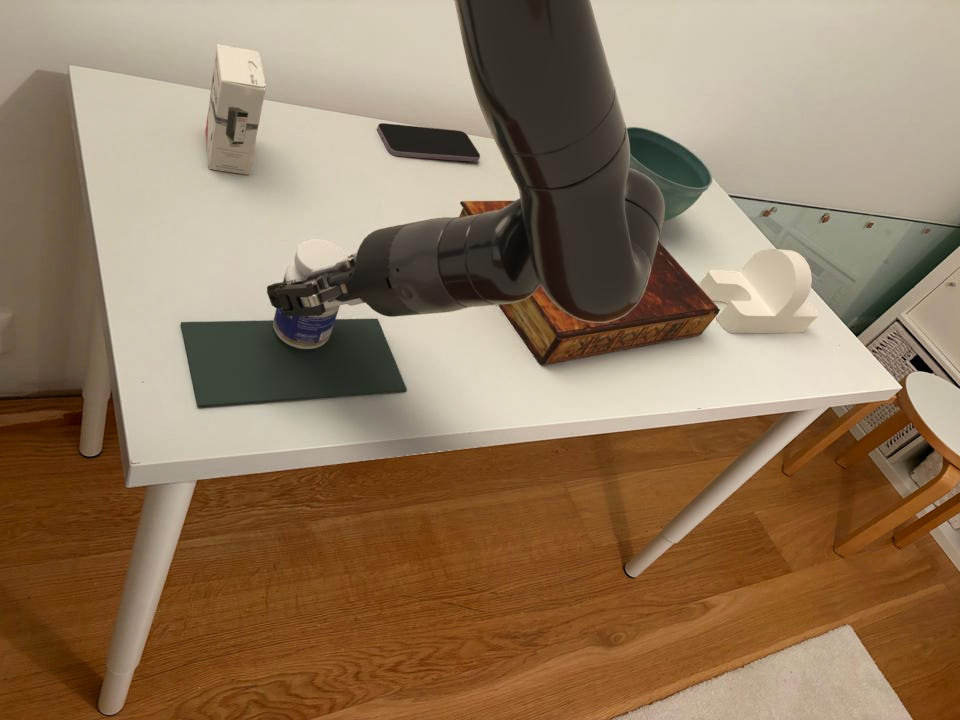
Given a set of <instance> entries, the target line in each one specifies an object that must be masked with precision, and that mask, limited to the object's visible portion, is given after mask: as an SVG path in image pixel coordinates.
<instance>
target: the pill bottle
mask: <svg viewBox="0 0 960 720" xmlns="http://www.w3.org/2000/svg"><path fill="white" fill-rule="evenodd" d="M347 258H348V256H347V254H346V252H345V251H344V250H343V249H342V248H341V247H340V246H338V245H337V244H335V243H333V242H331V241H328V240H324V239H320V238H312V239H307V240H305V241H302V242H301V243H300V244H299V245H298V246H297V248H296V252H295V255H294V259H293V261H291V262H290V263H289V264H288V266H287V267H286V269H285V273H284V276H283V280H282V282H288V281H290V280H293V279H296V280H297V279H302V278H306V277H307V275H308V274H309V273H310V272H312V271H314V270H315V269H319V268H323V267H327V266H331V265H335V264H336V263H338V262H340V261H341V260H343V259H347ZM327 276H328V274H326V275H323V281H324V284H325V287H326V288H327V287H329V286H328V283H327ZM340 307H341V305H340V306H335V307H331V308H327V309H326V312H325V313H323V314H322V315H320V316H317V315H316V316H285V315H284V313H283V308H275V313H274V317H273V320H274V321H273V327H274V330H275V332H276V334H277V335H278V337H279V338H280V339H281V340H282V341H284V342H285V343H287V344H288V345H290V346H293V347H296V348H300V349H313V348H317V347H320V346H322V345H323V344H324V343H326V342H327V340H328V339H329V337H330V335H331V332H332V329H333V326H334V323H335V319H337V316H338V313H339V310H340Z"/></svg>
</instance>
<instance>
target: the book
mask: <svg viewBox="0 0 960 720" xmlns="http://www.w3.org/2000/svg"><path fill="white" fill-rule="evenodd" d="M514 201H515V200H461V201H460V202H459V205H460V206H461V207H462V209H461V211H460V214H459V216H458V217H463V216H468V215H473V214H478V213H484V212H488V211H495V210H500V209H502V208H504V207H506V206H507V205H509V204H511V203H512V202H514ZM698 285H699V283H697V282H696V280H694V279H693V278H692V276H690V275H689V273H688V272H687V271H686V270H685V269H684V267H682V266H681V264H680V263H679V262H678V261H677V260H676V258H675V257H673V255H672V254H671V253H670V251H668V250H667V249H666V247H664V245H663V244H662V243H661V242H660V241H659V240H658V245H657V249H656V252H655V256H654V260H653V264H652V268H651V272H650V276H649V280H648V284H647V287H646V290H645V292H644V294H643V297H642V298H641V300H640V302H639V303H638V304H637V306H636V307H635V308H634V309H633V310H632V311H630V312H629V313H628V314H626V315H625V316H623V317H621V318H619V319H617V320H614V321H610V322H606V323H592V322H586V321H582V320H579V319H576V318H574V317H572V316H570V315H568V314H567V313H565V312H564V311H562V310H561V309H560V308H558V307H557V306H556V305H555V304H554V303H553V302H552V301H551V300H550V299H549V298H548V296H547V295H546V294H545V292H544V290H543V289H542V287H541V286H540V287H539V289H538V290H537V291H536V292H535V293H534V294H533V295H532V296H531V297H529V298H528V299H526V300H524V301H520V302H516V303H510V304H501V305H498V307H499V308H500V309H501V311H502V313H503V314H504V315H505V317H506V318H507V319H508V321H509V322H510V324H511V325H512V327H513V328H514V329H515V331H516V332H517V334H518V336H519V337H520V338H521V339H522V341H523V342H524V344H525V345H526V347H527V349H528V350H529V351H530V353H531V354H532V356H533V357H534V359H535V360H536V362H537V363H539V366H544V365H549V364H553V363H559V362H565V361H569V360H575V359H580V358H586V357H590V356H596V355H602V354H607V353H613V352H617V351H624V350H628V349H633V348H634V349H635V348H638V347H643V346H650V345H653V344H660V343H666V342H671V341H675V340H681V339H685V338H691V337H696V336H700V335H702V334H703V332H704V331H705V330H706V329H707V328H708V327H709V325H710V324H711V323H712V322H713V320H714V319H716V318H717V316H718V315H719V314H720V311H721V309H720V308H719V306H718V305H716V303H715V301H712V300H711V299H710V298H709V297H708V296H707V294H706V293H705V292H704V291H703V290H702V289H701V288H700V287H699V286H698Z"/></svg>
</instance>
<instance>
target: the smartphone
mask: <svg viewBox="0 0 960 720" xmlns="http://www.w3.org/2000/svg"><path fill="white" fill-rule="evenodd" d="M376 131H377V133H378V135H379V137H380V139H381V141H382V142H383V144H384V146H385V148H386V150H387V152H388V153H389V154H391V155H393V156H396V157H407V158H417V159H418V158H421V159H432V160H433V159H435V160H448V161H460V162H474V163H477V162H479V161H480V158H481V154H480V152H479V150H478V149H477V148H476V146H475V144H474V143H473V142H472V140H471V139H470V137H469V135H468V134H467V133H466V132H464V131H462V130H457V129H447V128H437V127H425V126H416V125H406V124H404V125H403V124H395V123H385V122H384V123H383V122H382V123H381V122H380V123H379V124H378V125H377V128H376Z"/></svg>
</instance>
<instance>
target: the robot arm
mask: <svg viewBox="0 0 960 720" xmlns="http://www.w3.org/2000/svg"><path fill="white" fill-rule="evenodd" d="M453 1H454V2H453V3H454V6H455V12H456V16H457V21H458V26H459V30H460V31H459V32H460V36H461V40H462V41H461V42H462V45H463V51H464V54H465V55H464V56H465V59H466V64H467V68H468V73H469V77H470V80H471V84H472V87H473V91H474V93H475V96H476V100H477V102H478V103H477V104H478V106H479V108H480V111H481V113H482V115H483V117H484V118H483V119H484V120H485V123H486V125H487V127H488V129H489V131H490V133H491V136H492V138H493V140H494V142H495V144H496V146H497V148H498V151H499V153H500V154H501V157H502V159H503V161H504V162H505V165H506V167H507V169H508V171H509V173H510V175H511V177H512V178H513V181H514V183H515V184H516V186H517V189H518V193H519V198H517V199H515V200H513V201H514V202H512V203H511V204H509V205H507V206H506V207H504V208H502V209H500V210H495V211H488V212H484V213H478V214H473V215H468V216H463V217H459V216H456V217H455V216H454V217H448V216H447V217H435V218H429V219H425V220H419V221H414V222H409V223H404V224H399V225H398V224H397V225H393V226H388V227H384V228H378V229H375V230H373V231H372V232H370V233H369V234H368V235H366V237H364V238H363V240H362V241H361V242H360V245H359V247H358V249H357V252H355V253H352V254H350V255H348V256H347V259H343V260H341V261H340V262H338V263H336V264H335V265H331V266H327V267H323V268H319V269H315V270H314V271H312V272H310V273H309V274H308V275H307V277H306V278H302V279H297V280H296V279H293V280H290V281H288V282H283V281H281V282H274V283H272V284H270V285H268V286H266V294H267V296H268V299H269V302H270V304H271V305H270V306H271V307H273V308H275V309H276V308H283V313H284V315H285V316H316V315H317V316H320V315H322V314H323V313H325V312H326V309H327V308H331V307H335V306H340V307H341V306H344V305H348V306H352V307H353V306H357V305H361V304H366V305H367V306H368V307H370V308H371V310H373V311H374V312H376V313H377V314H379V315H381V316H385V317H389V318H390V317H392V318H395V317H405V316H417V315H429V314H430V315H432V314H443V313H452V312H458V311H461V310H463V309H468V308H476V307H477V308H478V307H488V306H490V307H491V306H499V305H501V304H510V303H516V302H520V301H524V300H526V299H528V298H529V297H531V296H532V295H533V294H534V293H535V292H536V291H537V290H538V289H539V287H540V286H541V287H542V289H543V290H544V292H545V294H546V295H547V296H548V298H549V299H550V300H551V301H552V302H553V303H554V304H555V305H556V306H557V307H558V308H560V309H561V310H562V311H564V312H565V313H567V314H568V315H570V316H572V317H574V318H576V319H579V320H582V321H586V322H592V323H606V322H610V321H614V320H617V319H619V318H621V317H623V316H625V315H626V314H628V313H629V312H630V311H632V310H633V309H634V308H635V307H636V306H637V304H638V303H639V302H640V300H641V298H642V297H643V294H644V292H645V290H646V287H647V284H648V280H649V276H650V272H651V268H652V264H653V260H654V256H655V252H656V249H657V245H658V241H659V240H660V237H661V233H662V229H663V225H664V222H663V221H664V215H665V203H664V198H663V195H662V193H661V191H660V189H659V188H658V186H657V185H656V184H655V183H654V181H653V180H652V179H650V178H649V177H648V176H646V175H644V174H643V173H641V172H639V171H637V170H634V169H631V168H629V166H630V144H629V137H628V132H627V125H626V122H625V118H624V114H623V110H622V108H621V104H620V101H619V97H618V92H617V90H616V86H615V82H614V78H613V76H612V73H611V70H610V66H609V63H608V59H607V56H606V52H605V49H604V45H603V42H602V38H601V35H600V31H599V29H598V23H597V21H596V17H595V13H594V9H593V6H592V2H591V0H453ZM326 274H328V276H327V283H328V286H329V287H327V288H326V287H325V284H324V281H323V275H326Z"/></svg>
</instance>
